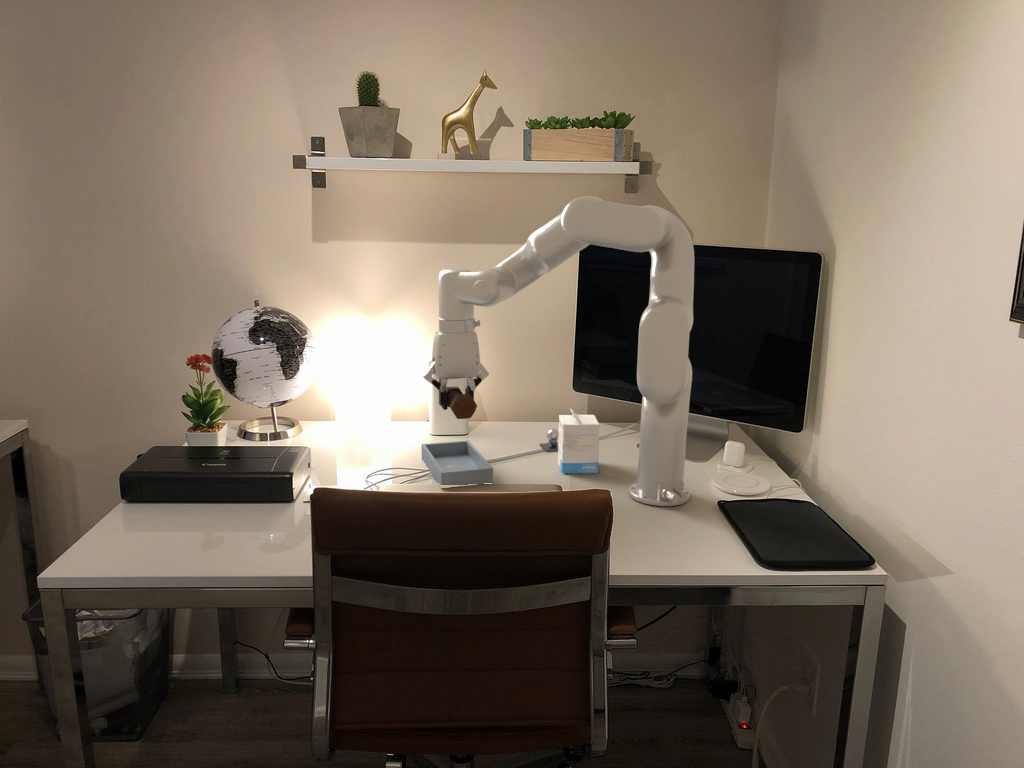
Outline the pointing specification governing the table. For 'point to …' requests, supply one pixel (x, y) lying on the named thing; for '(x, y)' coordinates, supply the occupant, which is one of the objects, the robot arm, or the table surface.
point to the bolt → (460, 403)
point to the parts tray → (456, 463)
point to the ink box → (578, 443)
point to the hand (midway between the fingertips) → (456, 406)
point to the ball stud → (551, 441)
